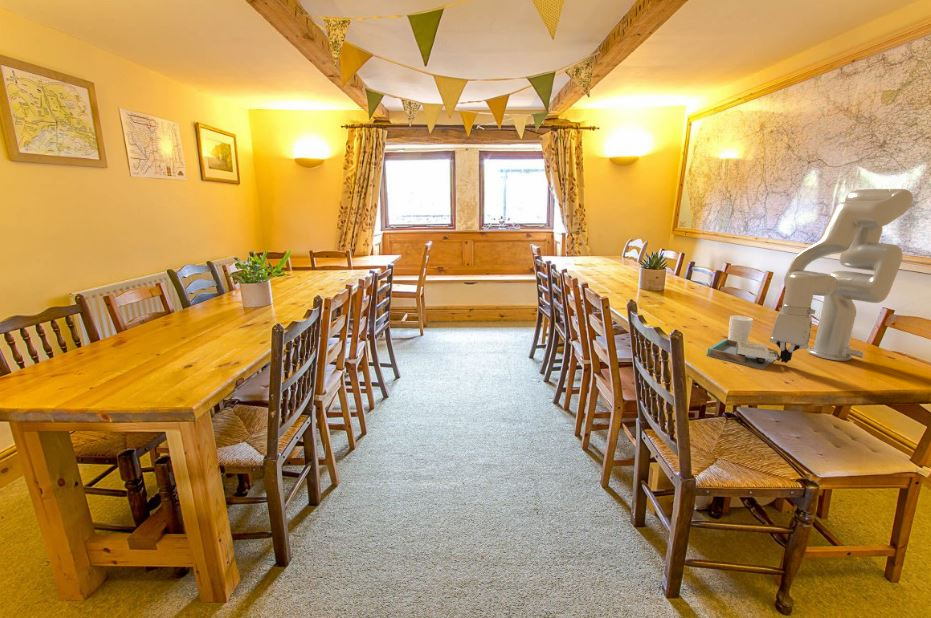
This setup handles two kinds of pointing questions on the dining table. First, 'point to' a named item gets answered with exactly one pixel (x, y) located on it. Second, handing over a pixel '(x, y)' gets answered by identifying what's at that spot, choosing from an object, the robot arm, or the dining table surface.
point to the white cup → (739, 328)
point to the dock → (728, 353)
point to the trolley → (755, 351)
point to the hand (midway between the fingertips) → (784, 361)
